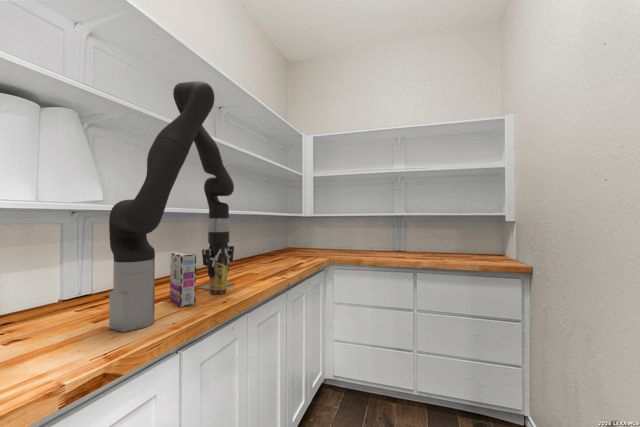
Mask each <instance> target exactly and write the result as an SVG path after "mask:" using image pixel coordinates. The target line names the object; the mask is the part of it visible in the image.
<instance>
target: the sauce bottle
mask: <svg viewBox="0 0 640 427" xmlns="http://www.w3.org/2000/svg"><path fill="white" fill-rule="evenodd" d="M218 249H221V253H220V254H219V257H218V260H217V261H216V262H215V266H214V267H215V276H214V277H209V284H210V285H209V289H210V291H209V293H210V294H211V295H222V294H225V293H226V292H227V290H228V289H227V288H228V286H227V282H228V274H229V271H228V257H227V255H226V253H225V244H218ZM212 258H215V257H212ZM211 263H212V262H211ZM227 273H228V274H227Z"/></svg>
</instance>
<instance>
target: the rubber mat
mask: <svg viewBox="0 0 640 427" xmlns="http://www.w3.org/2000/svg"><path fill="white" fill-rule="evenodd" d="M209 285H210V283H209V284H208V283H207V284H205V285H202V286H198V287H197V290H205V291H209V292H210V289H209ZM234 285H235V282H229V281H227V287H231V286H234Z"/></svg>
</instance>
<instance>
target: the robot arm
mask: <svg viewBox="0 0 640 427" xmlns="http://www.w3.org/2000/svg"><path fill="white" fill-rule="evenodd" d="M172 95H173V96H172V97H173V100H174V102H175V106H176V108H177V110H178V112H179V115H178V116H177V117H176V118H174V120H172V121H170V123H168V124H167V125H166V126H165V127H163V128H162V129H161V131H160V132H158V133H157V135H156V137H155V138H154V141H153V143H152V144H151V147H150V148H149V150H148V152H147V158H146V176H145V179H144V182H143V184H142V186H141V187H140V189H139V191H138V193H137V195H136V196H135V197H134V199H124V200H121V201H118V202H116V203H115V204H114V205H113V207H112V208H111V210H110V213H109V218H108V220H109V221H108V227H109V228H108V230H109V247H110V251H111V252H112V254H113V255H112V256H113V282H112V283H113V284H112V285H113V286H112V288H113V289H112V290H110V291H109V292H108V294H109V296H108V297H109V301H108V302H109V303H108V304H109V305H108V306H109V307H108V309H109V311H108V312H109V314H108V315H109V317H108V318H109V319H108V320H109V322H108V328H109V329H111V330H115V331H119V332H121V333H126V332H128V331H133V330H134V331H135V330H140V329H143V328H146V327H148V326H150V325H153V324H154V323H155V315H156V314H155V311H156V309H155V299H156V298H155V297H156V295H155V294H156V292H155V290H156V289H155V286H156V284H155V282H156V281H155V278H156V277H155V274H156V272H155V271H156V270H155V268H156V264H155V263H156V262H155V260H156V258H155V257H156V250H155V248H154V247H153V246H152V245H151V244H150V242H149V241H148V239H147V238H148V236H147V235H148V234H150V233H152V232H153V231H155V230H156V229H157V227H158V226H159V225H160V223H161V221H162V219H163V215H164V213H165V209H166V207H167V203H168V200H169V196H170V194H171V192H172V189H173V187H174V185H175V183H176V180H177V178H178V175H179V174H180V171H181V169H182V167H183V165H184V163H185V161H186V159H187V157H188V155H189V152H190V149H191V148H192V145H193V143H194V145H195V147H196V148H195V149H196V150H197V153H198V156H199V159H200V162H201V165H202V169H203V171H204V173H206V174H208V175H212V176H214V177H208V178H206V180H205V182H204V184H203V191H204V195H205V197H206V202H207V205H208V225H207V229H208V230H207V236H208V237H207V242H208V244H209V247H208V248H203V249H202V250H201V254H202V255H201V256H202V265H203V266H205V267H207V275H208V277H209V278H210V277H214V276H215V267H214V266H215V262H216V261H217V260H218V257H219V254H220V253H221V249H218V244H225V253H226V255H227V257H228V273H227V275H228V274H229V270H230V269H229V268H230V266H229V264H230V263H231V262H233V261H234V252H235V246H234V245H228V244H229V243H230V215H229V214H230V213H229V212H230V208H229V204H228V203H226V202H223V201H220V199H219V197H229V196H231V195H232V194H233V192H234V190H235V186H234V185H235V184H234V182H233V179H232V177H231V176H230V174H229V173H228V171H227V169H226V167H225V165H224V163H223V159H222V156H221V152H220V149H219V147H218V145H217V143H216V141H215V139H213V138H212V136H211V134H209V133H208V131H207V130H206V128H205V127H204V126H203V124H204V123H205V121H206V119H207V118H208V116H209V115H210V113H211V111H212V110H213V107H214V104H215V92H214V89H213V88H212V86H211V85H210V84H209V83H207V82H206V81H205V82H204V81H201V80H200V81H199V80H196V81H185V82H179V83H177V84H176V85H175V86H174V88H173V93H172ZM212 257H215V258H212ZM211 262H212V263H211Z"/></svg>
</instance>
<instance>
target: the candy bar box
mask: <svg viewBox="0 0 640 427" xmlns="http://www.w3.org/2000/svg"><path fill="white" fill-rule="evenodd" d="M169 267H170V276H169V278H170V279H169V281H170V283H169V284H170V287H169V300H170V302H171V303H173V304H174V305H177V306H178V307H179V308H185V307H190V306H195V305H197V304H196V291H197V288H196V287H197V285H196V284H197V283H196V278H197V254H194V253H191V252H185V251H178V252H170V266H169Z"/></svg>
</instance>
